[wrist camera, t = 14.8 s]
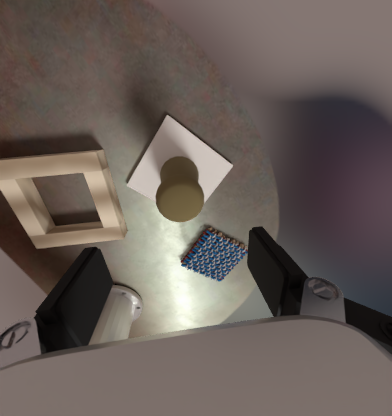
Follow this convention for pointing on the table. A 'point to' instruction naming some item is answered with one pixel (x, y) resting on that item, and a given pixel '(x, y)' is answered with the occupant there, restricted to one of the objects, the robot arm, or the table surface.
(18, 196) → the wooden holder
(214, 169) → the ceramic tile
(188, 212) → the cork
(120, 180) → the table surface
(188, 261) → the woven mat
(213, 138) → the table surface
